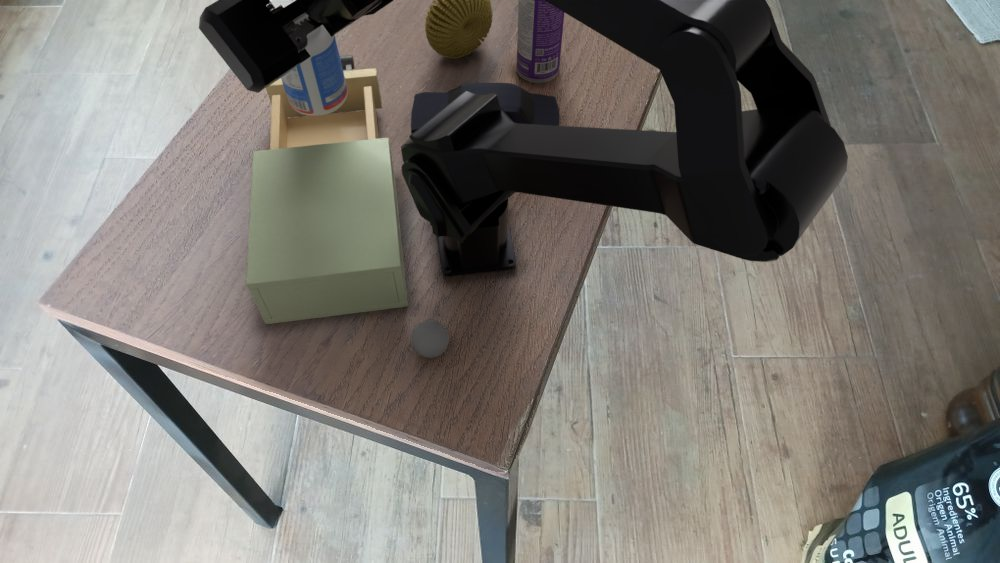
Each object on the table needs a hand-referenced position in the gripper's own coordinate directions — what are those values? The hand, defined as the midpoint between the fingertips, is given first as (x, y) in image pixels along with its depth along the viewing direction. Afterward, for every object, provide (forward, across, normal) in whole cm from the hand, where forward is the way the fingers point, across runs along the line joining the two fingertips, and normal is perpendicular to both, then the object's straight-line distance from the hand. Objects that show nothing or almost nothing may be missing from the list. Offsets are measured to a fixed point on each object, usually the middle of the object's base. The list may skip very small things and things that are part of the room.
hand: (291, 30), depth 61 cm
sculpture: (+9, -20, +10) cm, 24 cm away
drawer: (+9, -1, +9) cm, 13 cm away
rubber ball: (-8, +10, +26) cm, 29 cm away
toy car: (+2, -12, +18) cm, 21 cm away
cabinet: (+2, +8, +17) cm, 19 cm away
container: (+3, -23, +16) cm, 28 cm away
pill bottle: (+4, 0, +6) cm, 7 cm away
